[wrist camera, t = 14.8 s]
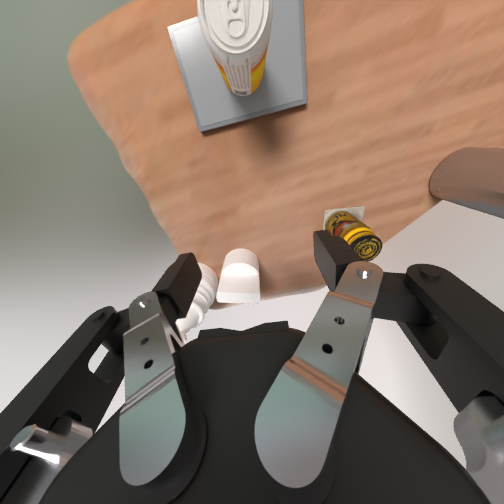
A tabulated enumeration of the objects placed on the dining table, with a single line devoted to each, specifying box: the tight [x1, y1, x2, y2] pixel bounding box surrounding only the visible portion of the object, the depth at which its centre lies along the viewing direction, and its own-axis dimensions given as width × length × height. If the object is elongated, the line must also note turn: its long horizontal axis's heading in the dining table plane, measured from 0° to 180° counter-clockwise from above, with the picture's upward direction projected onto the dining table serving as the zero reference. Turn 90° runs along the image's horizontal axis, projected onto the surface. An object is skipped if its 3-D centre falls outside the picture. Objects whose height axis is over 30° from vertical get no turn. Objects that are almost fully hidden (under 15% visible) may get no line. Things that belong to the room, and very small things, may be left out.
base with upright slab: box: [216, 249, 260, 304], centre depth 41 cm, size 9×9×12 cm
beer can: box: [197, 0, 273, 96], centre depth 20 cm, size 6×6×15 cm
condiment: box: [323, 206, 382, 262], centre depth 35 cm, size 7×8×12 cm
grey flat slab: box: [167, 0, 307, 132], centre depth 27 cm, size 18×12×1 cm, turn 102°
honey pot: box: [176, 263, 218, 344], centre depth 42 cm, size 13×13×18 cm
